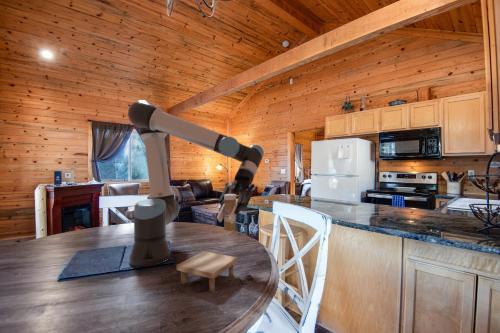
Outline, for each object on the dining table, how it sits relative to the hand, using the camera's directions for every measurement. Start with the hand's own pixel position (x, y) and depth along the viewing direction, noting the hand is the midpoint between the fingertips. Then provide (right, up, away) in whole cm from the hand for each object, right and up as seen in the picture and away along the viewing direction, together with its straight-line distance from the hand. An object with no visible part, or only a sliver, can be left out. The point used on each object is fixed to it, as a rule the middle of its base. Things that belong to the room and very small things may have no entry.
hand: (224, 220), depth 91 cm
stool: (-5, -17, -9) cm, 20 cm away
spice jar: (+2, -4, +3) cm, 6 cm away
